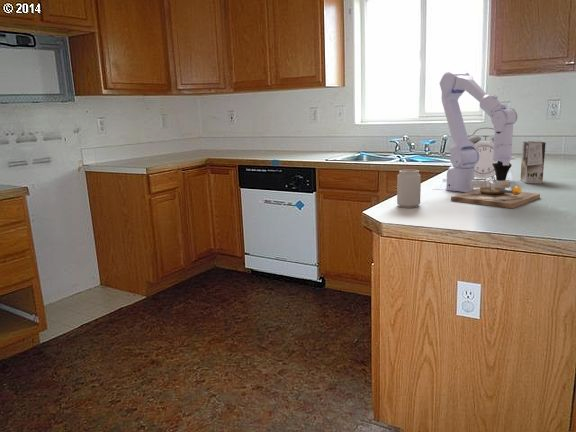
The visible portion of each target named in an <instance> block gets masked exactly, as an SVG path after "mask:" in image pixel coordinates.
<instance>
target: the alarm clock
mask: <svg viewBox="0 0 576 432" xmlns="http://www.w3.org/2000/svg"><path fill="white" fill-rule="evenodd" d="M485 129H489V130H494V127H493V128H492V127H480V128H476V130H474V132H473V133H472V134H471V135H469V134H467V136H468V139H469V140H470V141H471V142H472V143H474V145H475V148H476V149H477V150H478V152H479V155H480V158H479V161H478V162H477V163H476V166H475V169H474V178H476V179H484V178H485V179H486V178H490V179H491V180H493V179H495V177H494V176H496V173H495V169H494V167H493V165H492V164H493V163H497V162H498V161H495V160H493V154H494V135H492V136H491V137H489V135H483V136H482V137H483V138H484V140H483V141H482V137H481V136H480V135H475V133H477V131H480V130H485ZM487 138H489V140H490V141H488V140H487Z"/></svg>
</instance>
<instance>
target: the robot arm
mask: <svg viewBox="0 0 576 432" xmlns="http://www.w3.org/2000/svg"><path fill="white" fill-rule="evenodd" d="M439 86H440V87H439V88H440V91H441V103H442V106H443V111H444V114H445V118H446V120H447V125H448V129H449V133H450V136H451V140H452V143H453V144H452V145H451V147H450V148H449V153H450V156H449V157H450V158H449V160H450V161H449V162H450V163H451V166H449V167H448V169H447V172H446V187H445V191H453V192H461V193H465V192H468V191H472V190H475V189H478V188H472V187H471V183H472V180H475V177H474V169H475V166H476V163H477V162H478V161H479V158H480V155H479V152H478V150H477V149H476V148H475V145H474V143H472V142H471V141H470V140H469V139H468V138H469V137H468V133H467V129H466V125H465V122H464V118H463V114H462V110H461V108H460V104H459V99H460V98H461V96H462V95H463V94H464V93H465V91H466V92H467V93H468V94H469V95H470V96H472V97H473V98H474V99H475V100H476V101H478V103H479V108H480V109H481V110H483V112H485V114H487V115H488V116H489V117H490V118H491V119H490V121H491V124H492V125H493V129H494V135H493V136H494V154H493V160H495V161H498V162H497V163H493V164H492V165H493V167H494V169H495V173H496V175H495V178H496V180H507V176H508V173H509V171H510V169H511V168H512V166H513V164H511V162H510V161H512V160H515V159H516V157H515V156H512V152H513V151H512V149H513V137H514V136H513V135H514V134H513V133H514V132H513V131H514V124H516V122H517V121H518V113H517V111H516V110H515V108H512V107H507V104H505V103H503V102H501V101H500V99H498V97H499V96H497V95H496V94H487V93H486V91H485V90H484V89H483V88H482V87H481V86H480V85H479V84H478V83H477V82H476V81H475V80H474V77H473V76H472V75H470V73H468V72H466V71H463V72H451V71H448V72H444V73H443V75H442V76H441V79H440V81H439Z"/></svg>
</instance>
